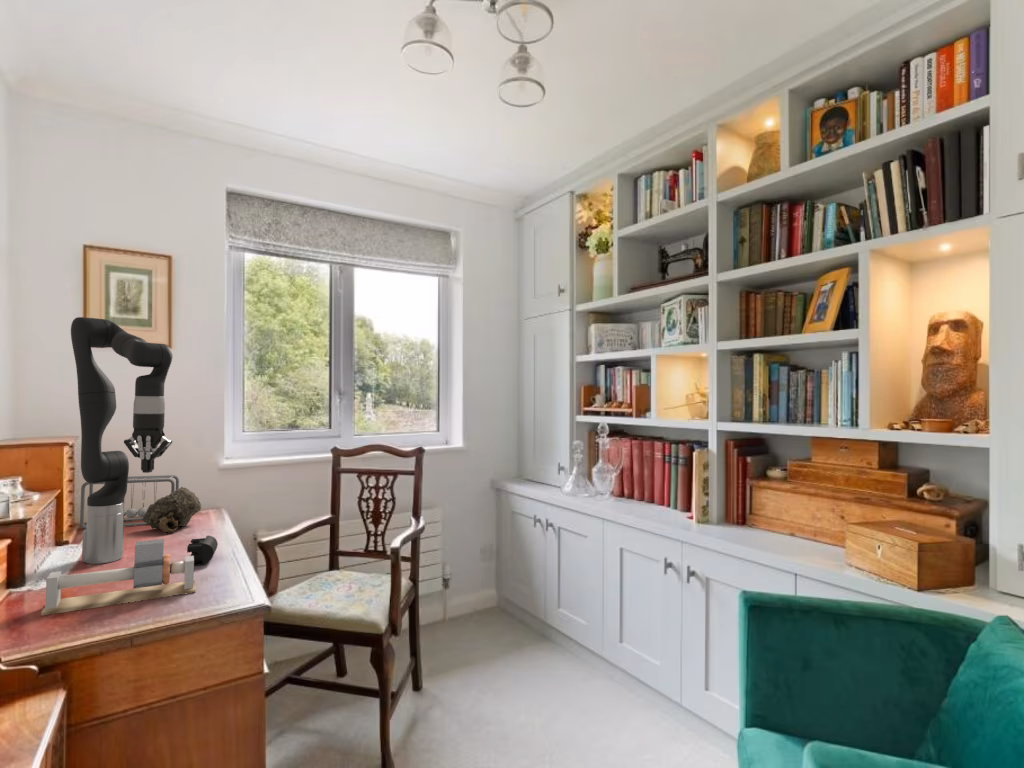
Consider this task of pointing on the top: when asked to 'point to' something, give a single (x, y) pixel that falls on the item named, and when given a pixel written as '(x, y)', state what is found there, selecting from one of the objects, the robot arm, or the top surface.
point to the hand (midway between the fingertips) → (147, 472)
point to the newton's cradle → (132, 511)
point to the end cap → (202, 549)
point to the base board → (118, 597)
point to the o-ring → (166, 569)
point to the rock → (172, 510)
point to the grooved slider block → (148, 563)
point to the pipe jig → (107, 579)
